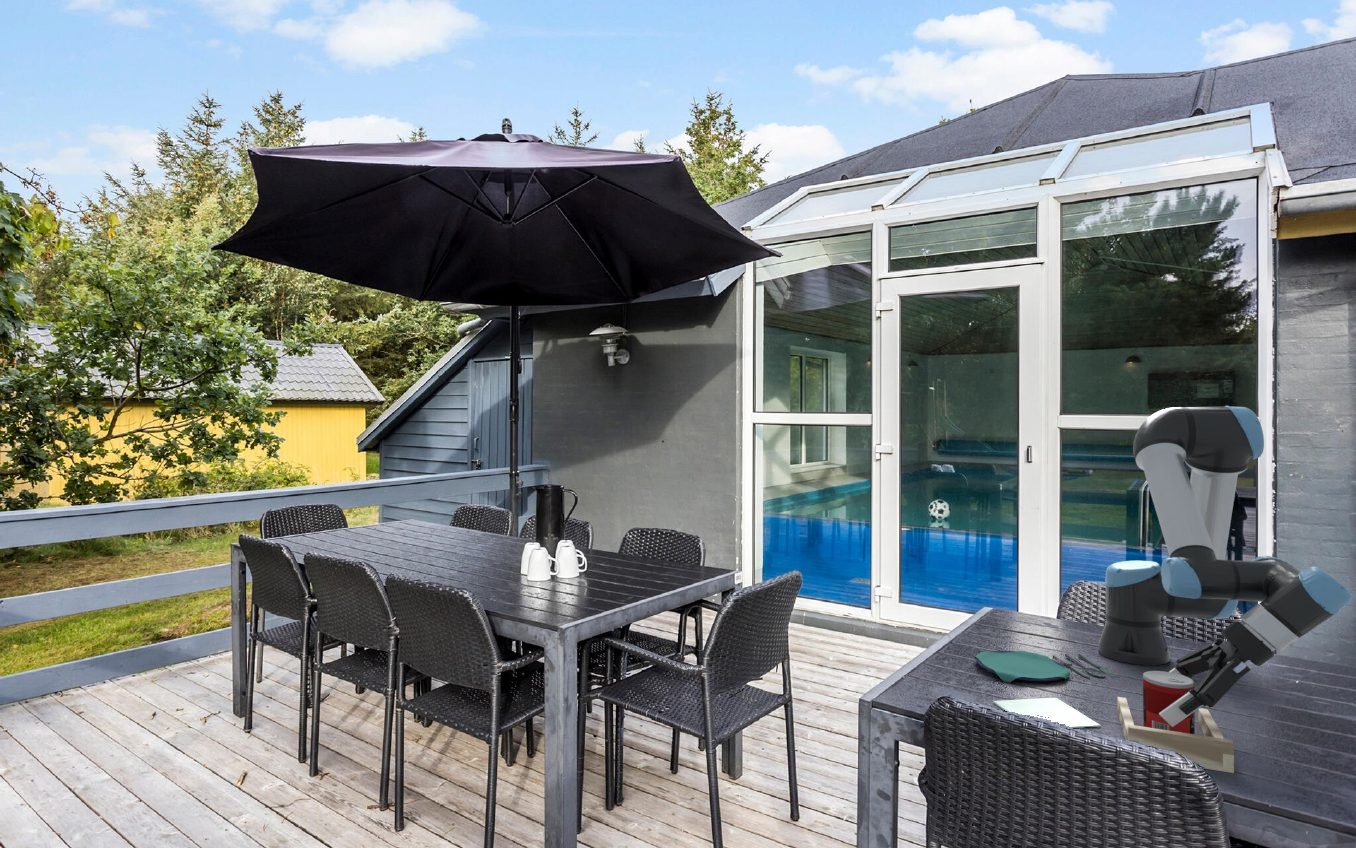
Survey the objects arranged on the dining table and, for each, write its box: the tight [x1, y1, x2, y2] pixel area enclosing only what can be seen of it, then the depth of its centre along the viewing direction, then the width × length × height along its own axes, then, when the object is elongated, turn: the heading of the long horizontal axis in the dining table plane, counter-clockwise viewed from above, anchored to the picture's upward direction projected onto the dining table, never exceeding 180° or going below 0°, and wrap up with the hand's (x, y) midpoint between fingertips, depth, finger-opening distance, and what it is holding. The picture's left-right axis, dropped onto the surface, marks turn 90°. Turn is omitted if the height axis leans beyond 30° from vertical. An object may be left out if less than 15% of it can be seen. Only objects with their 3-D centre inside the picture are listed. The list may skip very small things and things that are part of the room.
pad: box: [993, 697, 1101, 729], centre depth 146 cm, size 14×14×1 cm
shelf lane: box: [1116, 696, 1235, 774], centre depth 134 cm, size 22×15×5 cm
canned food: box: [1142, 670, 1196, 735], centre depth 135 cm, size 8×8×11 cm
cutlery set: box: [974, 650, 1120, 684], centre depth 172 cm, size 20×30×2 cm, turn 92°
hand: (1158, 706), depth 136 cm, fingers open, 13 cm apart
